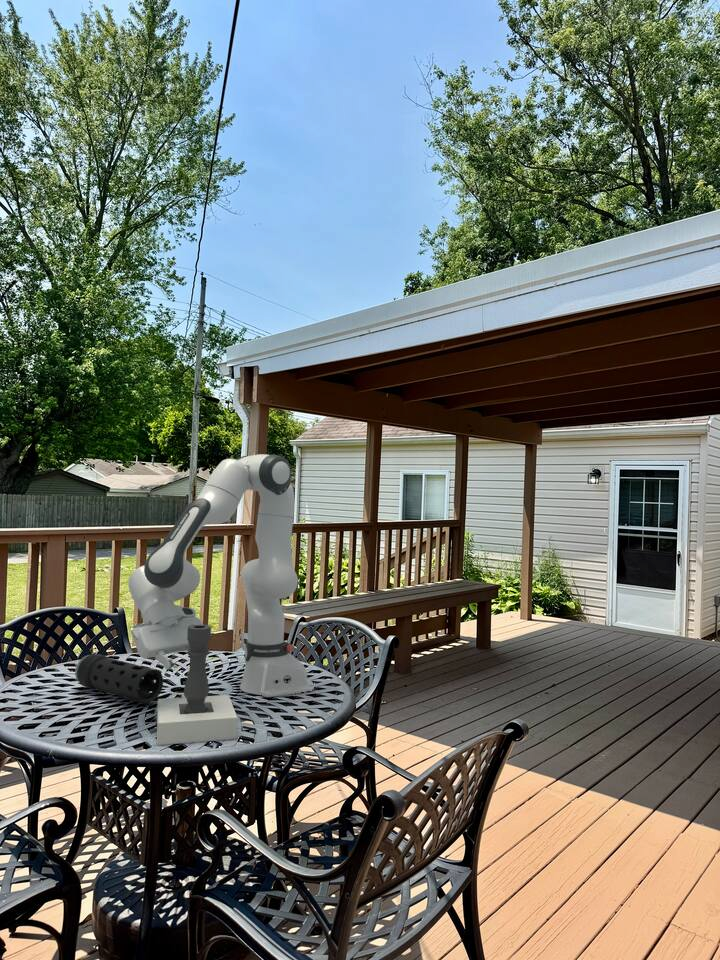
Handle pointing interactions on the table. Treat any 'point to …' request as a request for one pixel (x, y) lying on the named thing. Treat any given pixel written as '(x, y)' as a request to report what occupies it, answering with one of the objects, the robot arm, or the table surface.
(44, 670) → the table surface
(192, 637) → the candle holder
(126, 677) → the muzzle brake
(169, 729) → the socket block
